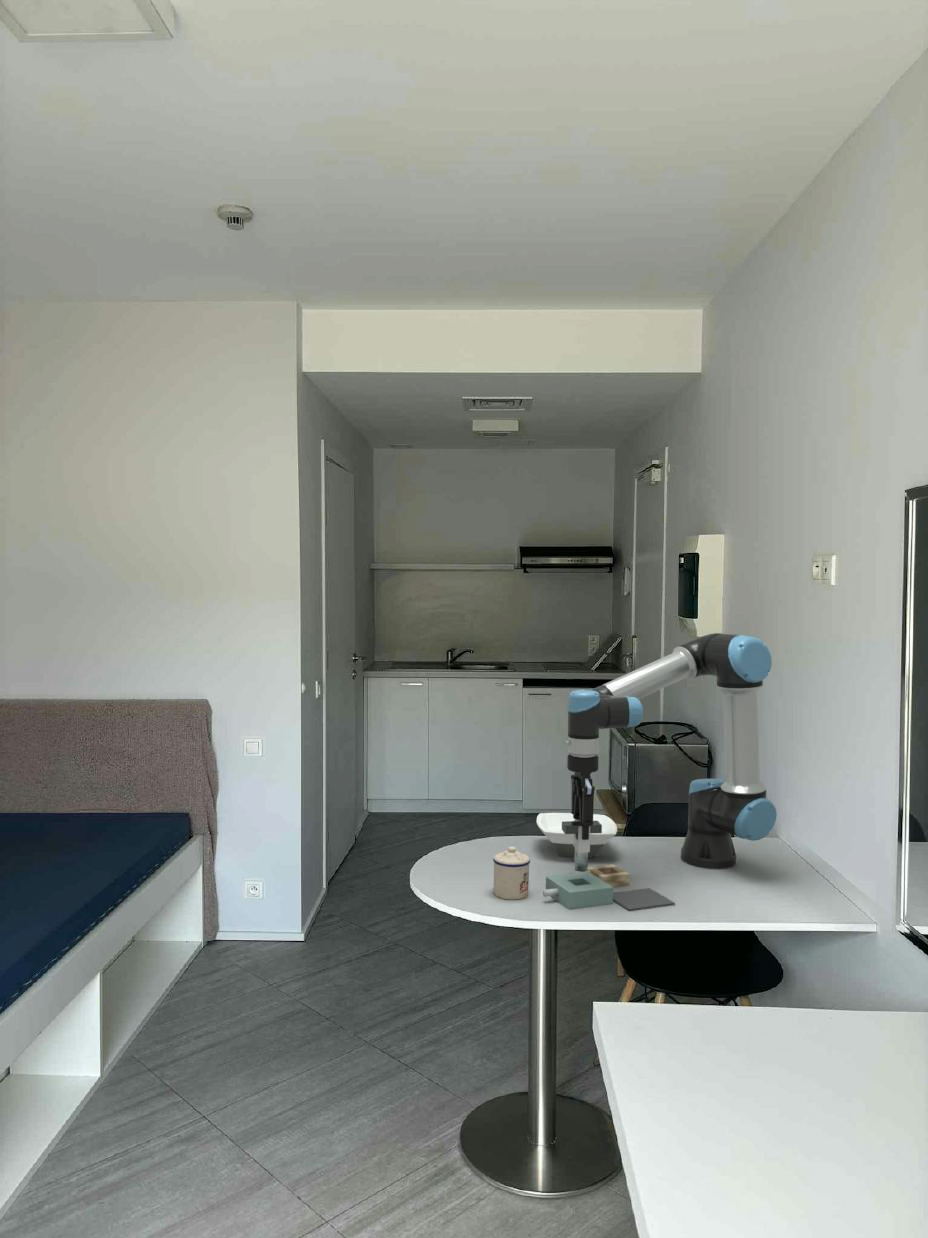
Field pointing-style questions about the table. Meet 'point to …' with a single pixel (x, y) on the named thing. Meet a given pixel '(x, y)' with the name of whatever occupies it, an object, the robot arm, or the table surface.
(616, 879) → the beige square frame
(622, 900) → the mat
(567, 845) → the bowl
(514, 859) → the teacup with lid
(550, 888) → the block
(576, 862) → the block
